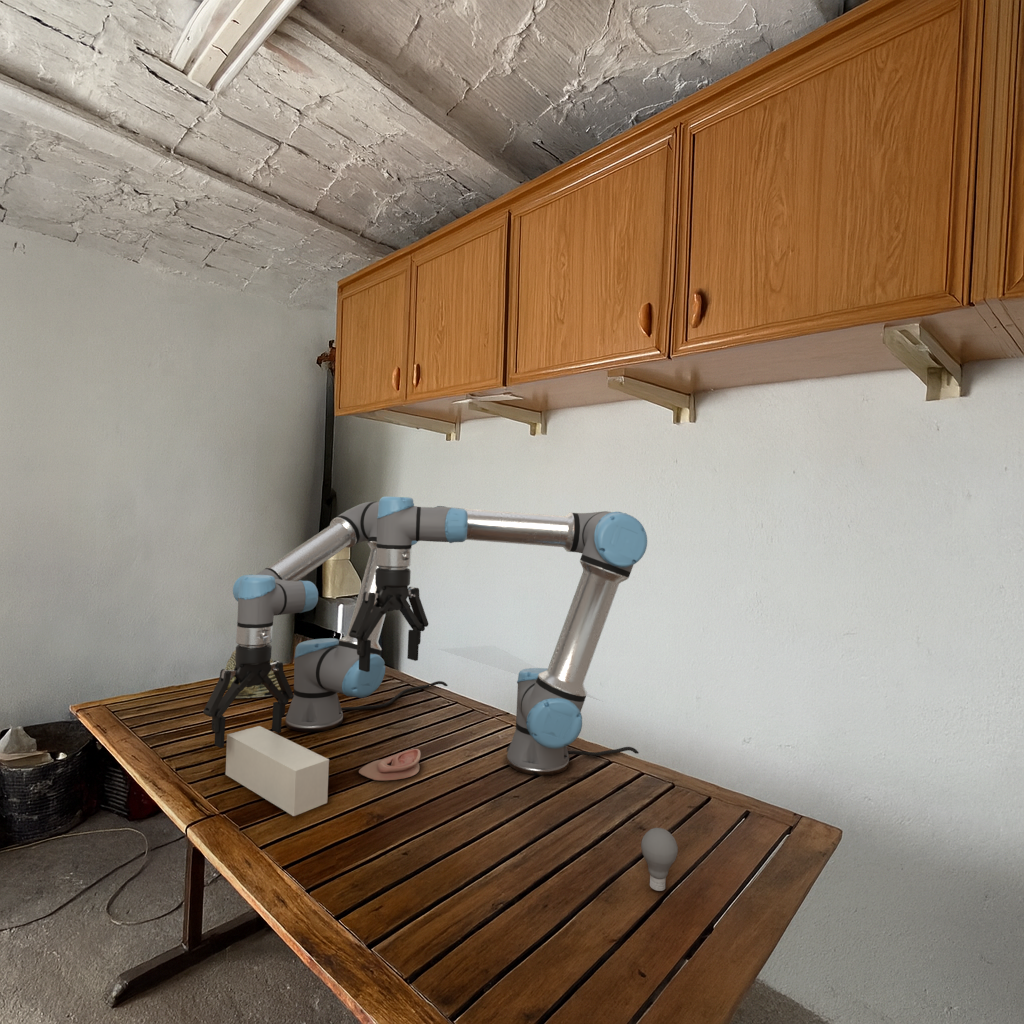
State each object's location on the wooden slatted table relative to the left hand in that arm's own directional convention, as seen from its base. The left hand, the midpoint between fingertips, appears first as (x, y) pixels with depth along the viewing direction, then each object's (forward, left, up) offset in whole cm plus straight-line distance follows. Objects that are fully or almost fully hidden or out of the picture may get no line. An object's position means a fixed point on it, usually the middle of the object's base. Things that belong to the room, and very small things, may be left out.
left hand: (248, 738), depth 143 cm
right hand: (-16, +27, +19) cm, 37 cm away
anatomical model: (-23, +21, -8) cm, 33 cm away
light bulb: (-24, +88, -8) cm, 92 cm away
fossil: (-30, -51, -8) cm, 60 cm away
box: (-1, +10, -8) cm, 13 cm away
